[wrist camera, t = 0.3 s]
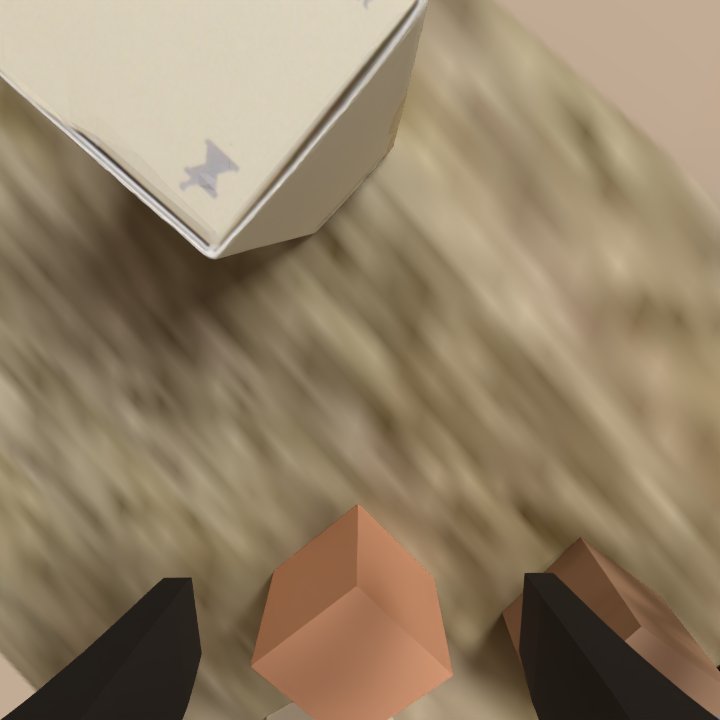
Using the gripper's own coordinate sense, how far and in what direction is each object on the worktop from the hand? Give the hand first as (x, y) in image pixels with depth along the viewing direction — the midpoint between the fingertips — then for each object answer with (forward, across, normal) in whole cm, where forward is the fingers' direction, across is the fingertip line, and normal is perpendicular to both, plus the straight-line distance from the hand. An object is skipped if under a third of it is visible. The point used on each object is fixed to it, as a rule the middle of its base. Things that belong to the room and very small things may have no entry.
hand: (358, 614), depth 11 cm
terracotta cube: (+10, 0, +7) cm, 12 cm away
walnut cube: (+10, -10, +9) cm, 16 cm away
